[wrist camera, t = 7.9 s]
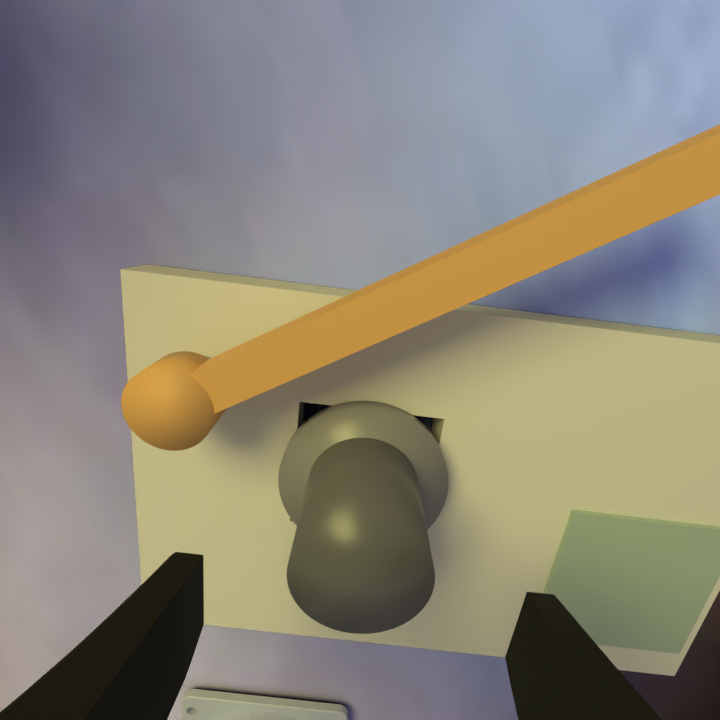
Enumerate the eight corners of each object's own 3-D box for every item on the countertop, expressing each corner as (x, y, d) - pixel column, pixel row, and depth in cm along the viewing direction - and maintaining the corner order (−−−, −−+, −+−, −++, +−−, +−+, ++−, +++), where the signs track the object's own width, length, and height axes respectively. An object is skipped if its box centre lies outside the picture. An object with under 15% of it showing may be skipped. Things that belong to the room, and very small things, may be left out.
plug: (424, 517, 16) (452, 672, 11) (286, 501, 16) (242, 649, 11) (449, 391, 15) (500, 496, 9) (296, 372, 15) (249, 467, 9)
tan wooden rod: (728, 200, 10) (782, 197, 9) (177, 437, 12) (154, 463, 11) (710, 99, 9) (767, 78, 8) (132, 370, 12) (102, 389, 10)
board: (650, 641, 18) (689, 698, 16) (161, 586, 18) (132, 638, 16) (793, 344, 14) (874, 367, 12) (146, 264, 13) (102, 272, 11)
